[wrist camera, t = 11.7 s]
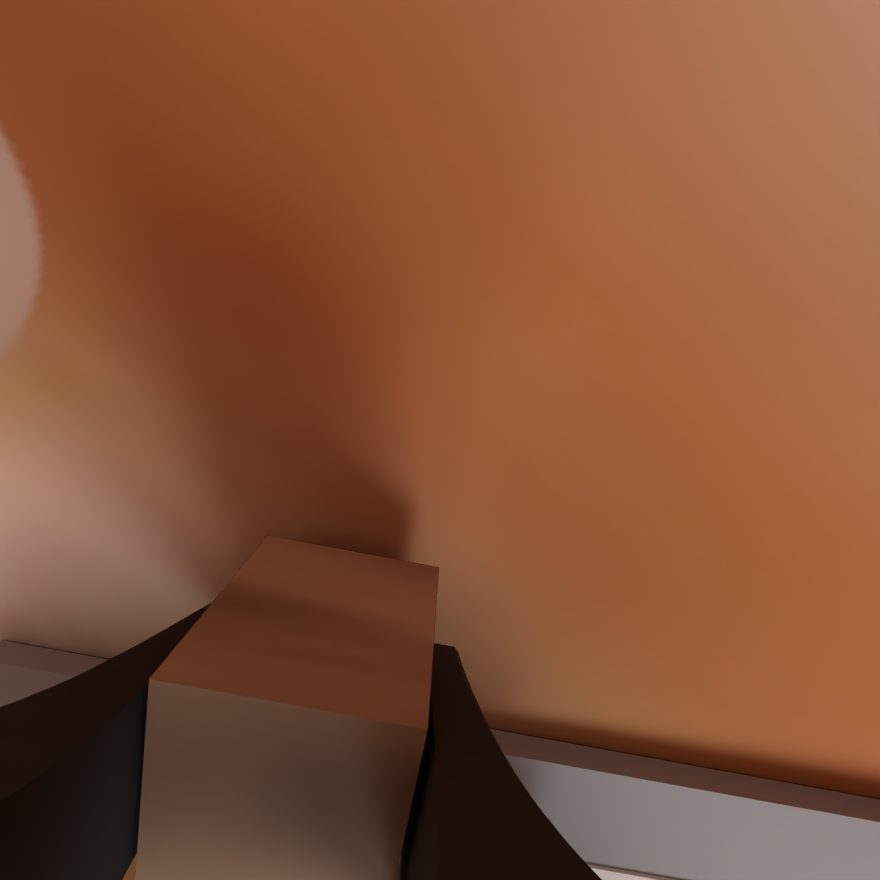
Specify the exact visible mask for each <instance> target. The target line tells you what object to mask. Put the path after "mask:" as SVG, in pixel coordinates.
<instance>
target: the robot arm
mask: <svg viewBox="0 0 880 880" xmlns="http://www.w3.org/2000/svg"><path fill="white" fill-rule="evenodd" d="M211 604H212V603H211ZM211 604H209V605H207V606H205V607H203V608H202V609H200V610H198V611H196V612H195V613H193V614H191V615H189V616H188V617H186V618H184V619H182V620H181V621H179V622H177V623H176V624H174V625H172V626H170V627H169V628H167V629H165V630H163V631H162V632H160V633H158V634H156V635H154V636H153V637H151V638H149V639H147V640H146V641H144V642H142V643H140V644H138V645H137V646H135V647H133V648H131V649H129V650H127V651H125V652H123V653H121V654H119V655H117V656H115V657H113V658H111V659H109V660H107V661H105V662H103V663H101V664H99V665H97V666H96V667H94V668H92V669H90V670H88V671H86V672H84V673H81V674H79V675H77V676H75V677H73V678H71V679H68V680H66V681H64V682H62V683H59V684H57V685H55V686H52V687H50V688H48V689H45V690H43V691H40V692H38V693H35V694H33V695H31V696H28V697H26V698H23V699H21V700H18V701H15V702H13V703H10V704H7V705H4V706H1V707H0V880H123V878H124V876H125V874H126V872H127V870H128V868H129V866H130V865H131V863H132V861H133V859H134V858H135V856H136V854H137V846H138V832H139V817H140V803H141V789H142V774H143V760H144V745H145V731H146V717H147V702H148V688H149V678H150V677H151V676H152V675H153V674H154V672H155V671H156V670H157V669H158V668H159V666H160V665H161V664H162V663H163V662H164V660H165V659H166V658H167V657H168V655H169V654H170V653H171V652H172V651H173V649H174V648H175V647H176V646H177V645H178V643H179V642H180V641H181V640H182V639H183V637H184V636H185V635H186V634H187V633H188V631H189V630H190V629H191V628H192V627H193V625H194V624H195V623H196V622H197V620H198V619H199V618H200V617H201V616H202V614H203V613H204V612H205V611H206V610H207V608H208V607H209V606H210V605H211ZM400 880H602V879H601V878H600V877H599V876H598V875H597V874H596V873H595V872H594V871H593V870H592V869H591V868H590V867H589V866H588V865H587V863H586V862H585V861H584V860H583V859H582V858H581V857H580V856H579V855H578V854H577V853H576V851H575V850H574V849H573V848H572V847H571V846H570V845H569V843H568V842H567V841H566V840H565V839H564V837H563V836H562V835H561V834H560V833H559V831H558V830H557V829H556V828H555V826H554V825H553V824H552V823H551V822H550V820H549V819H548V818H547V817H546V815H545V814H544V813H543V812H542V810H541V809H540V808H539V806H538V805H537V804H536V802H535V801H534V800H533V798H532V797H531V795H530V794H529V792H528V791H527V790H526V788H525V787H524V785H523V784H522V782H521V781H520V779H519V778H518V776H517V775H516V773H515V771H514V770H513V768H512V767H511V765H510V763H509V762H508V760H507V758H506V757H505V755H504V753H503V751H502V750H501V748H500V746H499V744H498V742H497V741H496V739H495V737H494V735H493V733H492V731H491V730H490V728H489V726H488V724H487V722H486V720H485V718H484V715H483V713H482V711H481V709H480V707H479V705H478V703H477V701H476V698H475V696H474V694H473V692H472V689H471V687H470V684H469V682H468V679H467V677H466V674H465V672H464V669H463V666H462V663H461V660H460V657H459V654H458V652H457V650H456V649H455V647H451V646H446V645H440V644H435V643H434V647H433V661H432V676H431V690H430V705H429V719H428V731H427V736H426V740H425V745H424V749H423V754H422V759H421V763H420V768H419V772H418V777H417V782H416V786H415V791H414V796H413V800H412V805H411V809H410V814H409V819H408V823H407V828H406V832H405V837H404V842H403V846H402V851H401V861H400Z"/></svg>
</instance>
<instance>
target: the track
mask: <svg viewBox="0 0 880 880" xmlns="http://www.w3.org/2000/svg"><path fill="white" fill-rule="evenodd" d="M107 660H109V659H103V658H98V657H92V656H87V655H81V654H76V653H70V652H65V651H59V650H54V649H48V648H43V647H37V646H32V645H26V644H21V643H15V642H10V641H4V640H2V641H1V642H0V707H1V706H4V705H7V704H10V703H13V702H15V701H18V700H21V699H23V698H26V697H28V696H31V695H33V694H35V693H38V692H40V691H43V690H45V689H48V688H50V687H52V686H55V685H57V684H59V683H62V682H64V681H66V680H68V679H71V678H73V677H75V676H77V675H79V674H81V673H84V672H86V671H88V670H90V669H92V668H94V667H96V666H97V665H99V664H101V663H103V662H105V661H107ZM490 730H491V731H492V733H493V735H494V737H495V739H496V741H497V742H498V744H499V746H500V748H501V750H502V751H503V753H504V755H505V757H506V758H507V760H508V762H509V763H510V765H511V767H512V768H513V770H514V771H515V773H516V775H517V776H518V778H519V779H520V781H521V782H522V784H523V785H524V787H525V788H526V790H527V791H528V792H529V794H530V795H531V797H532V798H533V800H534V801H535V802H536V804H537V805H538V806H539V808H540V809H541V810H542V812H543V813H544V814H545V815H546V817H547V818H548V819H549V820H550V822H551V823H552V824H553V825H554V826H555V828H556V829H557V830H558V831H559V833H560V834H561V835H562V836H563V837H564V839H565V840H566V841H567V842H568V843H569V845H570V846H571V847H572V848H573V849H574V850H575V851H576V853H577V854H578V855H579V856H580V857H581V858H582V859H583V860H584V861H585V862H586V863H587V865H588V866H589V867H590V868H591V869H592V870H593V871H594V872H595V873H596V874H597V875H598V876H599V877H600V878H601V879H602V880H880V800H879V799H874V798H868V797H863V796H857V795H852V794H846V793H841V792H835V791H830V790H824V789H819V788H813V787H808V786H802V785H797V784H791V783H786V782H780V781H775V780H769V779H764V778H758V777H753V776H747V775H742V774H736V773H731V772H725V771H720V770H714V769H709V768H703V767H698V766H692V765H687V764H681V763H676V762H670V761H665V760H659V759H654V758H648V757H643V756H637V755H632V754H626V753H621V752H615V751H610V750H604V749H599V748H593V747H588V746H582V745H577V744H571V743H566V742H560V741H555V740H549V739H544V738H538V737H533V736H527V735H522V734H516V733H511V732H505V731H500V730H494V729H490ZM400 861H401V856H400V860H399V865H398V869H397V874H396V879H395V880H400Z"/></svg>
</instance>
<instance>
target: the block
mask: <svg viewBox="0 0 880 880" xmlns="http://www.w3.org/2000/svg"><path fill="white" fill-rule="evenodd" d="M438 574H439V567H434V566H429V565H423V564H418V563H413V562H407V561H402V560H397V559H391V558H386V557H381V556H375V555H370V554H364V553H359V552H354V551H348V550H343V549H338V548H332V547H327V546H322V545H316V544H311V543H305V542H300V541H295V540H289V539H284V538H279V537H273V536H267V537H266V538H265V540H264V541H263V542H262V543H261V544H260V546H259V547H258V548H257V549H256V550H255V552H254V553H253V554H252V555H251V556H250V558H249V559H248V560H247V561H246V563H245V564H244V565H243V566H242V567H241V569H240V570H239V571H238V572H237V573H236V575H235V576H234V577H233V578H232V579H231V581H230V582H229V583H228V584H227V585H226V587H225V588H224V589H223V590H222V591H221V593H220V594H219V595H218V596H217V598H216V599H215V600H214V601H213V602H212V604H211V605H210V606H209V607H208V608H207V610H206V611H205V612H204V613H203V614H202V616H201V617H200V618H199V619H198V620H197V622H196V623H195V624H194V625H193V627H192V628H191V629H190V630H189V631H188V633H187V634H186V635H185V636H184V637H183V639H182V640H181V641H180V642H179V643H178V645H177V646H176V647H175V648H174V649H173V651H172V652H171V653H170V654H169V655H168V657H167V658H166V659H165V660H164V662H163V663H162V664H161V665H160V666H159V668H158V669H157V670H156V671H155V672H154V674H153V675H152V676H151V677H150V678H149V688H148V702H147V717H146V731H145V745H144V760H143V774H142V789H141V803H140V817H139V832H138V846H137V860H136V875H135V880H395V879H396V874H397V869H398V865H399V860H400V856H401V851H402V846H403V842H404V837H405V832H406V828H407V823H408V819H409V814H410V809H411V805H412V800H413V796H414V791H415V786H416V782H417V777H418V772H419V768H420V763H421V759H422V754H423V749H424V745H425V740H426V736H427V731H428V719H429V705H430V690H431V676H432V661H433V647H434V632H435V618H436V603H437V589H438Z"/></svg>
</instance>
